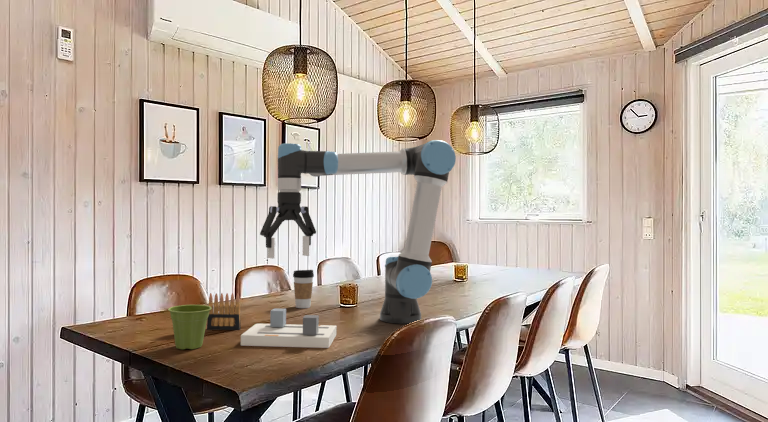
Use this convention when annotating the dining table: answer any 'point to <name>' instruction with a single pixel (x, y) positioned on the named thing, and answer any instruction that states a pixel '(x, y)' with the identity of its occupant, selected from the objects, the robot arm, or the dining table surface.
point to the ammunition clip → (224, 313)
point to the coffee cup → (303, 287)
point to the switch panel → (288, 336)
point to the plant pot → (189, 325)
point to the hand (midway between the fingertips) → (288, 257)
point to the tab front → (310, 324)
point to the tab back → (278, 317)
